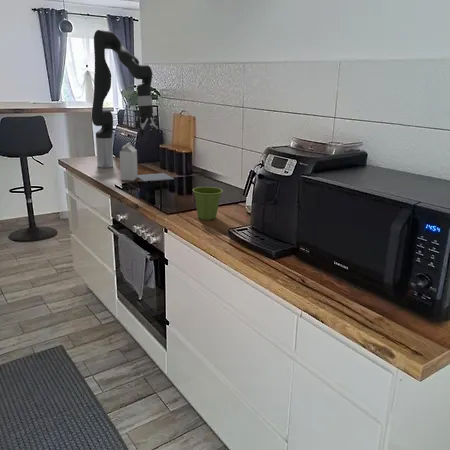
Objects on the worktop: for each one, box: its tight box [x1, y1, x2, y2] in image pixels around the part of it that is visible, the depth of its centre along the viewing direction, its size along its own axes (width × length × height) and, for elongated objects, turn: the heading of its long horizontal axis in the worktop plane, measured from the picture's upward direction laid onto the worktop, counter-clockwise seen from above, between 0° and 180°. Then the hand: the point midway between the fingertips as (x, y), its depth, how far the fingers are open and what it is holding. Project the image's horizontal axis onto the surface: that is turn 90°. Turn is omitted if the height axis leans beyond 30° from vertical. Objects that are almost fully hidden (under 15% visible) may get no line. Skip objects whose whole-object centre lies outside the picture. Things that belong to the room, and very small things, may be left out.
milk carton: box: [119, 142, 139, 182], centre depth 232 cm, size 7×7×19 cm
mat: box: [137, 172, 175, 183], centre depth 240 cm, size 15×17×1 cm
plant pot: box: [192, 186, 224, 221], centre depth 173 cm, size 12×12×11 cm
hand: (148, 135), depth 240 cm, fingers open, 8 cm apart
